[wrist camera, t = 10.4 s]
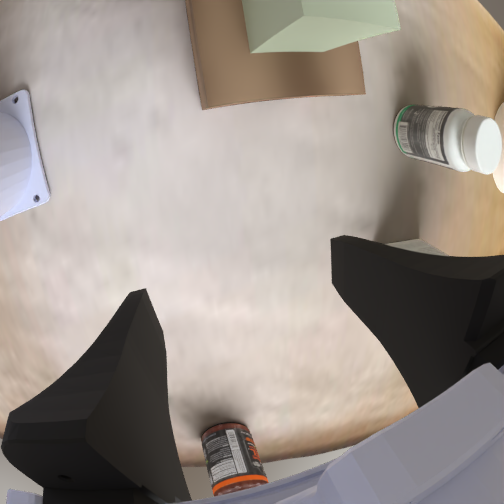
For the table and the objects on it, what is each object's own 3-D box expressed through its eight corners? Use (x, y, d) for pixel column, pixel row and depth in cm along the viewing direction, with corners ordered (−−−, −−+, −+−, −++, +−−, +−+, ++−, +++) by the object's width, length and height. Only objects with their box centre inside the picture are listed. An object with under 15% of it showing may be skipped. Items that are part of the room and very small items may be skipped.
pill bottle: (434, 125, 22) (509, 141, 15) (415, 167, 23) (490, 193, 16) (405, 93, 20) (486, 98, 13) (383, 137, 21) (465, 155, 14)
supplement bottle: (255, 435, 33) (284, 510, 23) (212, 450, 32) (232, 525, 22) (239, 414, 30) (270, 501, 20) (191, 430, 29) (210, 517, 20)
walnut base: (202, 110, 17) (208, 107, 15) (182, -22, 13) (185, -42, 10) (341, 95, 19) (365, 94, 16) (320, -22, 15) (340, -36, 12)
